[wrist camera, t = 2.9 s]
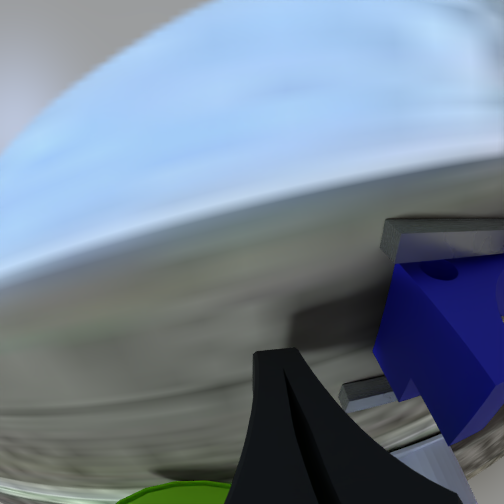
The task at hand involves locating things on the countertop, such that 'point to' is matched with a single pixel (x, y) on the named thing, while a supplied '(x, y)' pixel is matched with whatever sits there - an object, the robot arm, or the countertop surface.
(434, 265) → the cable clip
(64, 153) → the countertop surface
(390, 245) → the pair of grey bars
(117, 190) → the countertop surface
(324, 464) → the robot arm
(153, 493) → the wineglass
